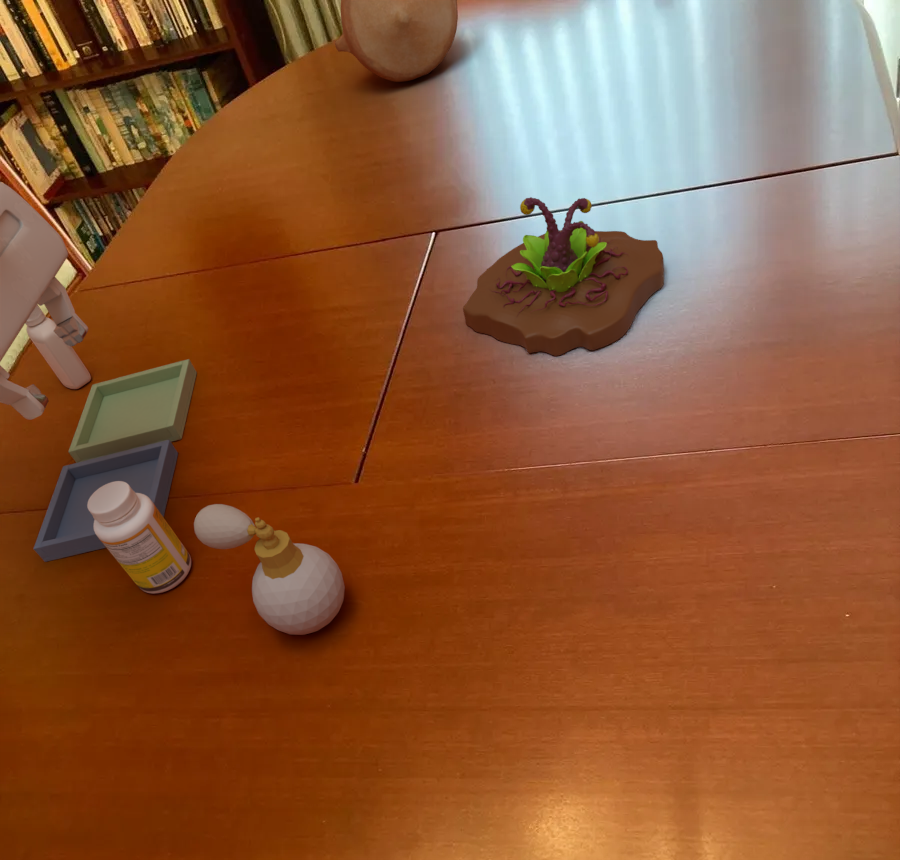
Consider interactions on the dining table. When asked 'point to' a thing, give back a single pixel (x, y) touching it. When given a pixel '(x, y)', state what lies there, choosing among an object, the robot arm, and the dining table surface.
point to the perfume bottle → (279, 570)
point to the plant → (565, 286)
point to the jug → (398, 35)
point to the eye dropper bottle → (56, 351)
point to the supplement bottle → (138, 537)
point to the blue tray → (68, 511)
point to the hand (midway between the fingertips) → (61, 373)
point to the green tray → (134, 411)
